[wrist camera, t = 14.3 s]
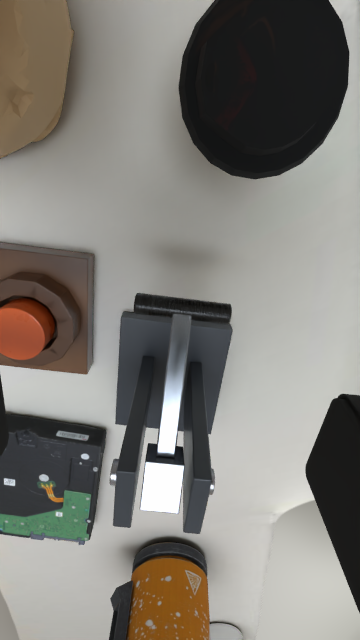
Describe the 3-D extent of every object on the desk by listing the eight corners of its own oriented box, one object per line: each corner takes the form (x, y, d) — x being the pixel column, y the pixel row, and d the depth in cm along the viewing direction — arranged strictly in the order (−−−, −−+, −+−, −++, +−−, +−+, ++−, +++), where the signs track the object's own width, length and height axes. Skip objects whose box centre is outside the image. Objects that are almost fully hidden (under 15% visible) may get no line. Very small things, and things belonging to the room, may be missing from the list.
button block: (-12, 240, 25) (-41, 250, 21) (94, 253, 25) (80, 265, 22) (1, 354, 29) (-22, 376, 25) (92, 364, 29) (81, 387, 26)
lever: (138, 293, 20) (134, 291, 17) (227, 304, 20) (235, 304, 18) (116, 483, 20) (109, 507, 18) (203, 492, 21) (208, 517, 18)
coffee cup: (295, 52, 20) (391, -53, 11) (280, 178, 23) (346, 179, 13) (181, 53, 20) (177, -51, 11) (180, 177, 23) (177, 179, 14)
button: (-3, 294, 23) (-18, 304, 21) (54, 301, 23) (43, 311, 21) (3, 343, 25) (-11, 356, 23) (56, 349, 25) (46, 363, 23)
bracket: (123, 311, 27) (76, 416, 15) (230, 323, 27) (265, 436, 15) (117, 415, 31) (77, 558, 20) (209, 425, 32) (224, 571, 20)
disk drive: (1, 408, 31) (5, 511, 37) (-15, 429, 29) (-8, 536, 35) (108, 425, 32) (96, 523, 38) (101, 446, 29) (89, 549, 35)
